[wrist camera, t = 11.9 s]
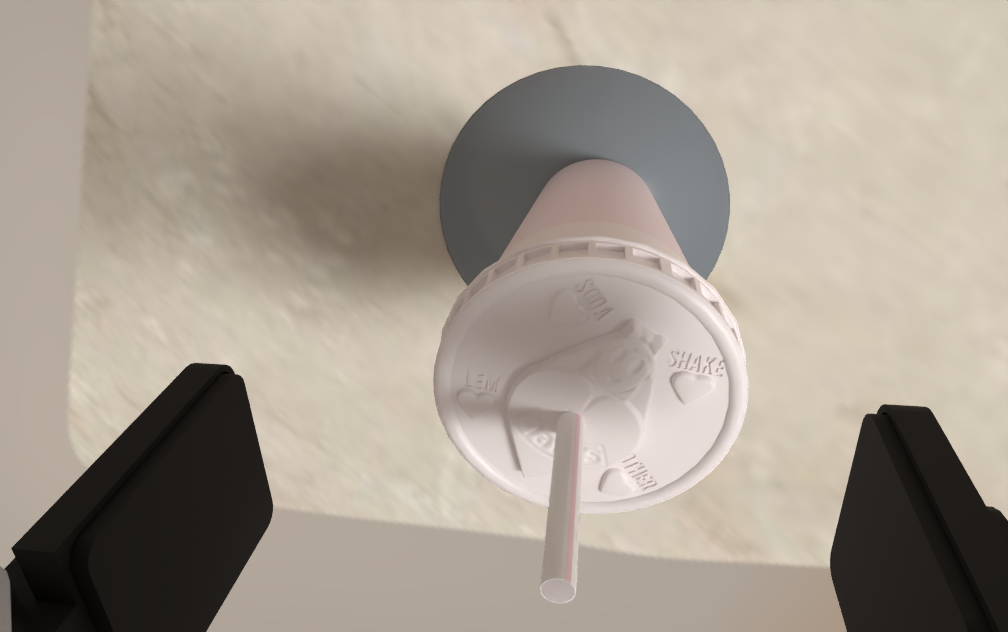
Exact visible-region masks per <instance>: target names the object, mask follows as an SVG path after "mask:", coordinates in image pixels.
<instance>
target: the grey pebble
mask: <svg viewBox="0 0 1008 632" xmlns="http://www.w3.org/2000/svg"><path fill="white" fill-rule="evenodd" d="M590 159H603V160H609V161H613V162H617V163H620V164H622V165H624V166H626V167H628V168H629V169H631V170H633V171H634V172H635V173H636V174H638V175H639V176H640V177H641V178H642V180H643V181H644V182H645V183H646V185H647V186H648V188H649V190H650V191H651V193H652V195H653V197H654V199H655V201H656V203H657V205H658V207H659V209H660V211H661V213H662V214H663V216H664V218H665V220H666V222H667V224H668V226H669V228H670V230H671V232H672V234H673V236H674V237H675V239H676V241H677V243H678V245H679V247H680V249H681V251H682V253H683V255H684V257H685V259H686V260H687V262H688V264H689V266H690V267H691V268H692V269H693V270H694V271H696V272H697V273H698V274H699V275H700V276H701V277H703V278H704V279H705V280H707V278H708V276H709V275H710V273H711V272H712V270H713V268H714V267H715V264H716V262H717V260H718V258H719V255H720V253H721V251H722V248H723V245H724V241H725V238H726V234H727V229H728V222H729V216H730V194H729V186H728V179H727V175H726V171H725V168H724V164H723V161H722V158H721V155H720V153H719V151H718V149H717V147H716V144H715V142H714V140H713V139H712V137H711V135H710V134H709V132H708V131H707V129H706V128H705V126H704V124H703V123H702V122H701V121H700V120H699V119H698V117H697V116H696V115H695V114H694V113H693V112H692V110H691V109H690V108H689V107H687V106H686V105H685V104H684V103H683V102H682V101H681V100H680V99H678V98H677V97H676V96H675V95H673V94H672V93H670V92H669V91H667V90H666V89H664V88H663V87H661V86H660V85H658V84H656V83H654V82H652V81H650V80H647V79H645V78H643V77H641V76H639V75H636V74H632V73H629V72H626V71H623V70H619V69H613V68H607V67H601V66H570V67H560V68H555V69H551V70H547V71H543V72H539V73H536V74H534V75H531V76H529V77H526V78H524V79H521V80H519V81H517V82H515V83H514V84H512V85H510V86H508V87H507V88H505V89H503V90H502V91H500V92H499V93H498V94H496V95H495V96H494V97H492V98H491V99H490V100H488V101H487V102H486V103H485V104H484V105H483V106H482V107H481V108H480V109H479V110H478V111H477V112H476V113H475V114H474V115H473V116H472V118H471V119H470V120H469V122H468V123H467V124H466V126H465V127H464V128H463V130H462V131H461V133H460V134H459V136H458V138H457V140H456V142H455V143H454V145H453V147H452V150H451V152H450V155H449V157H448V160H447V162H446V166H445V170H444V174H443V178H442V183H441V193H440V217H441V223H442V229H443V235H444V238H445V241H446V244H447V248H448V251H449V253H450V255H451V257H452V260H453V262H454V264H455V266H456V268H457V270H458V271H459V273H460V274H461V276H462V278H463V279H464V281H465V282H466V283H467V285H468V286H469V285H470V284H471V282H472V281H473V280H474V279H475V278H476V277H477V276H478V275H479V274H480V273H481V272H482V271H483V270H484V269H485V268H487V267H489V266H490V265H492V264H494V263H495V262H497V261H499V259H500V257H501V256H502V254H503V253H504V251H505V249H506V248H507V246H508V245H509V243H510V241H511V240H512V238H513V237H514V235H515V233H516V232H517V230H518V229H519V227H520V225H521V224H522V222H523V221H524V219H525V217H526V216H527V214H528V213H529V211H530V209H531V208H532V206H533V205H534V203H535V201H536V200H537V198H538V197H539V195H540V193H541V192H542V190H543V188H544V187H545V185H546V184H547V183H548V181H549V180H550V179H551V178H552V177H553V176H554V175H555V174H556V173H557V172H559V171H560V170H562V169H563V168H565V167H567V166H569V165H571V164H573V163H576V162H579V161H584V160H590Z"/></svg>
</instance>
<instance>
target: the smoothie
mask: <svg viewBox="0 0 1008 632" xmlns="http://www.w3.org/2000/svg"><path fill="white" fill-rule="evenodd" d="M433 381H434V396H435V402H436V406H437V410H438V414H439V417H440V419H441V422H442V424H443V427H444V429H445V431H446V433H447V435H448V437H449V438H450V440H451V441H452V443H453V444H454V446H455V447H456V449H457V450H458V451H459V453H460V454H461V455H462V456H463V458H464V459H465V460H466V461H467V462H468V463H469V464H470V465H471V466H472V467H473V468H474V469H475V470H476V471H477V472H479V473H480V474H481V475H482V476H483V477H485V478H486V479H487V480H489V481H490V482H492V483H493V484H494V485H496V486H498V487H499V488H501V489H503V490H504V491H506V492H508V493H510V494H512V495H514V496H516V497H518V498H521V499H523V500H525V501H528V502H530V503H533V504H537V505H540V506H543V507H547V508H548V517H547V527H546V537H545V547H544V557H543V567H542V577H541V586H540V592H541V594H542V596H543V597H544V598H546V599H547V600H549V601H551V602H554V603H565V602H569V601H571V600H572V599H573V598H574V597H575V595H576V584H577V583H576V582H577V564H578V563H577V562H578V543H579V523H580V513H581V514H612V513H619V512H627V511H632V510H637V509H641V508H645V507H648V506H652V505H655V504H658V503H660V502H663V501H666V500H668V499H670V498H672V497H675V496H677V495H679V494H680V493H682V492H684V491H686V490H688V489H689V488H691V487H692V486H694V485H695V484H697V483H698V482H699V481H701V480H702V479H703V478H704V477H706V476H707V475H708V474H709V473H710V472H711V471H712V470H713V469H714V468H715V467H716V466H717V465H718V464H719V463H720V462H721V461H722V460H723V458H724V457H725V456H726V455H727V453H728V452H729V450H730V449H731V447H732V446H733V444H734V442H735V441H736V438H737V436H738V434H739V432H740V430H741V427H742V425H743V422H744V419H745V415H746V410H747V405H748V394H749V388H748V375H747V369H746V354H745V350H744V346H743V343H742V339H741V335H740V331H739V328H738V324H737V321H736V319H735V318H734V316H733V315H732V313H731V311H730V310H729V308H728V307H727V305H726V304H725V302H724V301H723V299H722V298H721V296H720V294H719V293H718V291H717V290H716V289H715V288H714V287H713V286H712V285H711V284H710V283H708V282H707V281H706V280H705V279H704V278H703V277H701V276H700V275H699V274H698V273H697V272H696V271H694V270H693V269H692V268H691V267H690V266H689V264H688V262H687V260H686V259H685V257H684V255H683V253H682V251H681V249H680V247H679V245H678V243H677V241H676V239H675V237H674V236H673V234H672V232H671V230H670V228H669V226H668V224H667V222H666V220H665V218H664V216H663V214H662V213H661V211H660V209H659V207H658V205H657V203H656V201H655V199H654V197H653V195H652V193H651V191H650V190H649V188H648V186H647V185H646V183H645V182H644V181H643V180H642V178H641V177H640V176H639V175H638V174H636V173H635V172H634V171H633V170H631V169H629V168H628V167H626V166H624V165H622V164H620V163H617V162H613V161H609V160H603V159H590V160H584V161H579V162H576V163H573V164H571V165H569V166H567V167H565V168H563V169H562V170H560V171H559V172H557V173H556V174H555V175H554V176H553V177H552V178H551V179H550V180H549V181H548V183H547V184H546V185H545V187H544V188H543V190H542V192H541V193H540V195H539V197H538V198H537V200H536V201H535V203H534V205H533V206H532V208H531V209H530V211H529V213H528V214H527V216H526V217H525V219H524V221H523V222H522V224H521V225H520V227H519V229H518V230H517V232H516V233H515V235H514V237H513V238H512V240H511V241H510V243H509V245H508V246H507V248H506V249H505V251H504V253H503V254H502V256H501V257H500V259H499V261H497V262H495V263H494V264H492V265H490V266H489V267H487V268H485V269H484V270H483V271H482V272H481V273H480V274H479V275H478V276H477V277H476V278H475V279H474V280H473V281H472V282H471V284H470V285H469V286H468V287H467V288H466V289H465V290H464V291H463V292H462V293H461V294H460V295H459V296H458V298H457V300H456V302H455V304H454V306H453V308H452V310H451V312H450V314H449V316H448V318H447V320H446V323H445V325H444V327H443V329H442V336H441V343H440V347H439V350H438V353H437V357H436V362H435V367H434V379H433Z"/></svg>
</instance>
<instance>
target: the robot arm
mask: <svg viewBox="0 0 1008 632" xmlns="http://www.w3.org/2000/svg"><path fill="white" fill-rule="evenodd" d="M272 512H273V502H272V497H271V493H270V489H269V485H268V480H267V476H266V472H265V468H264V463H263V459H262V455H261V451H260V446H259V442H258V438H257V434H256V430H255V425H254V421H253V417H252V413H251V408H250V404H249V400H248V396H247V391H246V387H245V383H244V380H243V378H242V377H241V376H240V375H236V374H235V373H234V371H233V369H232V368H231V367H230V366H228V365H220V364H203V363H193V364H190V365H189V366H187V367H186V368H185V369H184V370H183V371H182V372H181V373H180V374H179V375H178V376H177V377H176V378H175V379H174V380H173V381H172V382H171V383H170V385H169V386H168V387H167V388H166V389H165V390H164V391H163V392H162V393H161V394H160V395H159V396H158V397H157V398H156V399H155V400H154V401H153V402H152V403H151V404H150V405H149V406H148V407H147V408H146V409H145V410H144V411H143V412H142V414H141V415H140V416H139V417H138V418H137V419H136V420H135V421H134V422H133V423H132V424H131V425H130V426H129V427H128V428H127V429H126V430H125V431H124V432H123V433H122V434H121V435H120V436H119V437H118V438H117V439H116V440H115V441H114V443H113V444H112V445H111V446H110V447H109V448H108V449H107V450H106V451H105V452H104V453H103V454H102V455H101V456H100V457H99V458H98V459H97V460H96V461H95V462H94V463H93V464H92V465H91V466H90V467H89V468H88V470H86V472H85V473H84V474H83V475H82V476H81V477H80V478H79V479H78V480H77V481H76V482H75V483H74V484H73V485H72V486H71V487H70V488H69V489H68V490H67V491H66V492H65V493H64V494H63V496H61V497H60V498H59V500H58V501H57V502H56V503H55V504H54V505H53V506H52V507H51V508H50V509H49V510H48V511H47V512H46V513H45V514H44V515H43V516H42V517H41V518H40V519H39V520H38V521H37V522H36V523H35V524H34V525H33V526H32V527H31V529H29V531H28V532H27V533H26V534H25V535H24V536H23V537H22V538H21V539H20V540H19V541H18V542H17V543H16V544H15V545H14V546H13V547H12V550H13V553H14V555H15V558H14V560H13V561H12V562H11V563H10V564H9V565H8V566H7V567H6V568H5V569H3V568H2V567H0V632H206V631H207V629H208V627H209V626H210V624H211V622H212V621H213V619H214V617H215V616H216V614H217V612H218V610H219V609H220V607H221V606H222V604H223V602H224V600H225V599H226V597H227V595H228V594H229V592H230V590H231V589H232V587H233V585H234V583H235V582H236V580H237V578H238V577H239V575H240V573H241V572H242V570H243V568H244V566H245V565H246V563H247V561H248V560H249V558H250V556H251V555H252V553H253V551H254V550H255V548H256V546H257V544H258V543H259V541H260V539H261V538H262V536H263V534H264V533H265V531H266V529H267V528H268V526H269V524H270V521H271V517H272ZM830 569H831V576H832V580H833V584H834V587H835V591H836V594H837V598H838V601H839V605H840V608H841V612H842V615H843V619H844V622H845V626H846V629H847V632H1008V521H1007V519H1006V518H1005V517H1004V515H1003V514H1002V513H1001V512H1000V511H999V510H997V509H995V508H994V507H988V506H986V505H985V504H984V502H983V500H982V498H981V497H980V495H979V493H978V491H977V490H976V488H975V486H974V484H973V483H972V481H971V479H970V477H969V476H968V474H967V472H966V470H965V469H964V467H963V465H962V463H961V462H960V460H959V458H958V456H957V455H956V453H955V451H954V449H953V448H952V446H951V444H950V442H949V441H948V439H947V437H946V435H945V434H944V432H943V430H942V428H941V427H940V425H939V423H938V421H937V420H936V418H935V416H934V415H933V413H932V412H931V410H930V409H929V408H927V407H920V406H903V405H886V404H884V405H882V406H881V407H880V408H879V410H878V412H877V414H867V415H865V417H864V419H863V422H862V426H861V430H860V434H859V438H858V442H857V446H856V451H855V455H854V459H853V463H852V467H851V471H850V475H849V479H848V484H847V488H846V492H845V496H844V500H843V504H842V508H841V512H840V517H839V521H838V525H837V529H836V533H835V537H834V541H833V546H832V550H831V556H830Z"/></svg>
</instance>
